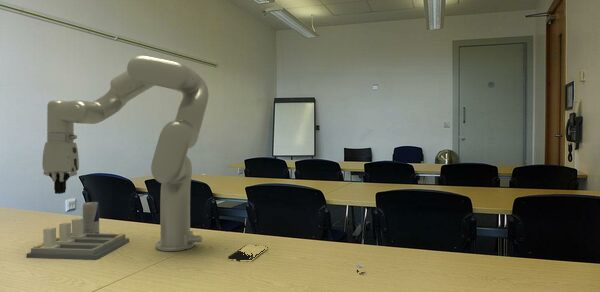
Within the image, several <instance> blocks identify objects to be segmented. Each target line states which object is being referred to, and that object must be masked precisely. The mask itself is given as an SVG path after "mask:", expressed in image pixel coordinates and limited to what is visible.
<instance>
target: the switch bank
mask: <svg viewBox="0 0 600 292" xmlns="http://www.w3.org/2000/svg"><path fill="white" fill-rule="evenodd" d="M83 234H86V235H87V237H71V239H75V243H74V242H56V245H60V248H39V247H42V246H44V242H43V243H40V244H39V243H38V244H37V245H35V246H33V247H32V248H30V251H29V252H27V253H26V254H25V255H26V258H27V259H28V258H29V259H60V260H61V259H62V260H63V259H64V260H91V261H93V260H94V261H95V260H96V261H97V260H99V259H101V258H103V257H104V256H107V254H110V253H112V252H113V251H115V250H117V249H119V248H121V247H122V246H125V245H126V244H128V243H130V238H128V237H126V233H99V234H97V233H83ZM71 235H72V232H71ZM56 241H59V237H56Z"/></svg>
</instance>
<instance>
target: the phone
mask: <svg viewBox="0 0 600 292" xmlns="http://www.w3.org/2000/svg"><path fill="white" fill-rule="evenodd" d="M254 245H255V244H254ZM245 246H246V245H244V246H243V247H245ZM255 246H257V245H255ZM264 246H265V247H266V246H267V245H264ZM243 247H241V248H240V249H238V250H236V251H235V252H233V253H231V254H230V255H228V257H227V259H228V258H229V259H239V260H252V259H253V258H255V257H256V256H257V255H259V254H260V253H261V252H263V251H264V250H265V249H264V250H263V251H261V252H260V253H259V254H256V255H255V257H253V254H252V253H251V254H252V255H251V256H250V255H248V254H247V255H248V256H247V255H246V254H245V252H244V253H243V252H241V251H239V250H241V249H242V248H243ZM267 248H268V249H269V247H268V246H267ZM243 254H244V255H243ZM250 257H251V258H250ZM249 258H250V259H249ZM239 260H238V261H239Z"/></svg>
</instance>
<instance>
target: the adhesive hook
mask: <svg viewBox="0 0 600 292" xmlns="http://www.w3.org/2000/svg"><path fill="white" fill-rule="evenodd" d="M356 267H357V268H364V265H363V264H361V263H360V262H357V263H356V265H355V268H356Z"/></svg>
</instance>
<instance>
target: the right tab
mask: <svg viewBox="0 0 600 292" xmlns="http://www.w3.org/2000/svg"><path fill="white" fill-rule="evenodd" d="M71 233H72V235H71V237H87V235H86V234H83V218H74V219H71Z"/></svg>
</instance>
